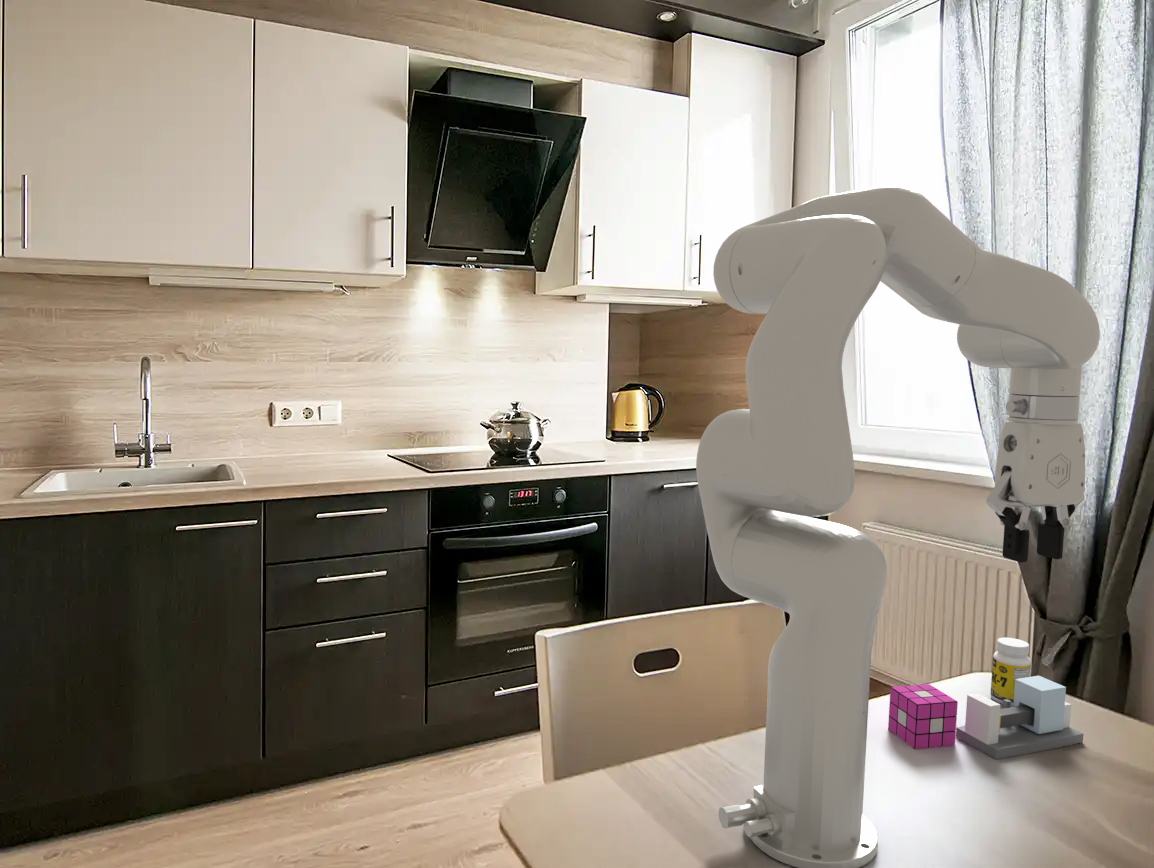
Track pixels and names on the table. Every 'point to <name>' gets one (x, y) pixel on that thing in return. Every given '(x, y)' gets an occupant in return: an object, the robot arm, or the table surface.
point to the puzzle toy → (922, 716)
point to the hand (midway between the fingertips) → (1032, 556)
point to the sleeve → (1041, 702)
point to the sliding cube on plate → (1010, 729)
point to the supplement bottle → (1009, 667)
